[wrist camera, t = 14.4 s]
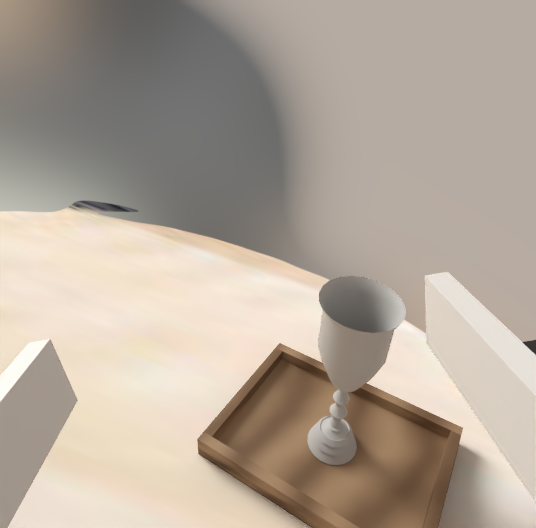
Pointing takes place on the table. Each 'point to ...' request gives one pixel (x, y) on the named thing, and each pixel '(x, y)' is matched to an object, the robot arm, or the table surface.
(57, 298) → the table surface
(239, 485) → the table surface
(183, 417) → the table surface
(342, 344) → the chalice
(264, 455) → the tray
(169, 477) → the table surface
